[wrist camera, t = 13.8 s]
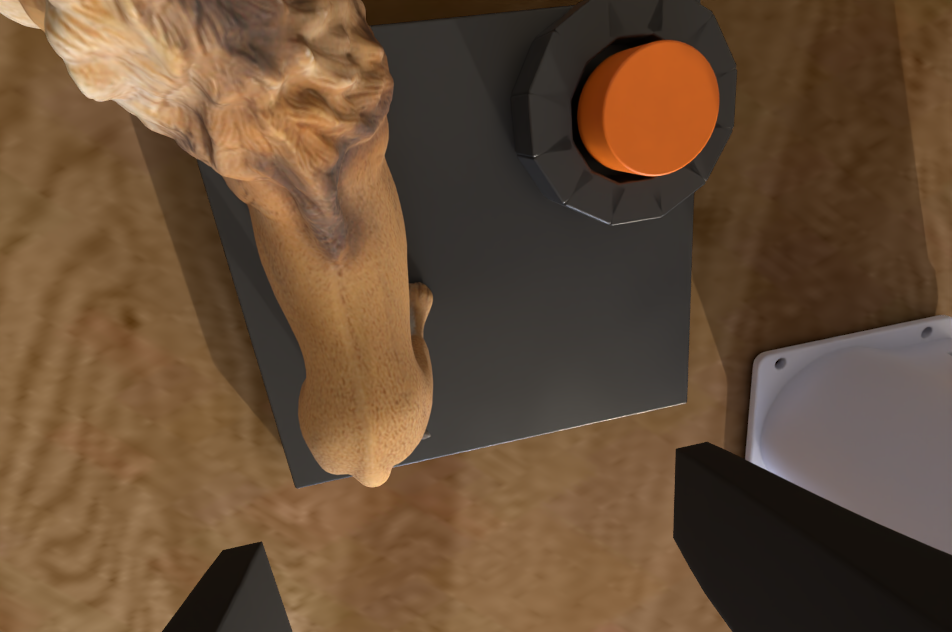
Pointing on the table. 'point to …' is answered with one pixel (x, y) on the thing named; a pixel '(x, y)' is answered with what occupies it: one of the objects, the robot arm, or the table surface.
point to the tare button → (649, 108)
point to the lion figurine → (285, 184)
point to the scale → (516, 230)
